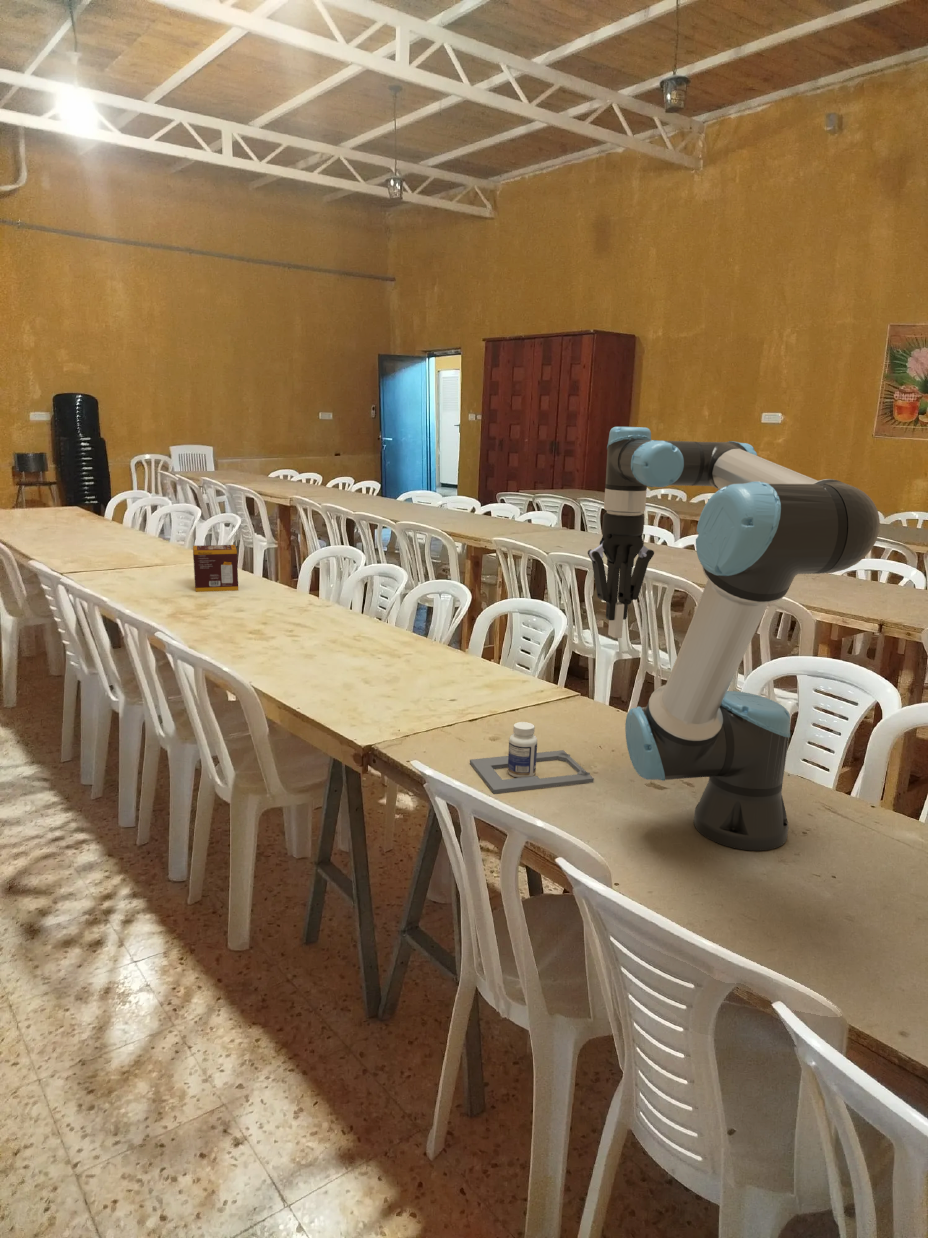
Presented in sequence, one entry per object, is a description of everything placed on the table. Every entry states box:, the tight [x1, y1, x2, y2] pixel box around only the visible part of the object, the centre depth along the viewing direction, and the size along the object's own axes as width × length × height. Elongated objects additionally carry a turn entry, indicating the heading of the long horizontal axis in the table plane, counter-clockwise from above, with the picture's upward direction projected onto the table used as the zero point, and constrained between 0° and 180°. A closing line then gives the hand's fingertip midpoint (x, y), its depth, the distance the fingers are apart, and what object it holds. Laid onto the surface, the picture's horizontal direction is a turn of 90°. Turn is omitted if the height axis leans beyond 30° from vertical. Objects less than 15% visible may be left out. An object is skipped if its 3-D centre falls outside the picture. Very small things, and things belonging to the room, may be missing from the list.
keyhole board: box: [469, 749, 595, 795], centre depth 163 cm, size 14×20×1 cm
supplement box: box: [192, 544, 239, 593], centre depth 314 cm, size 10×15×16 cm
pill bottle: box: [507, 721, 538, 778], centre depth 162 cm, size 5×5×10 cm
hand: (614, 636), depth 162 cm, fingers closed
